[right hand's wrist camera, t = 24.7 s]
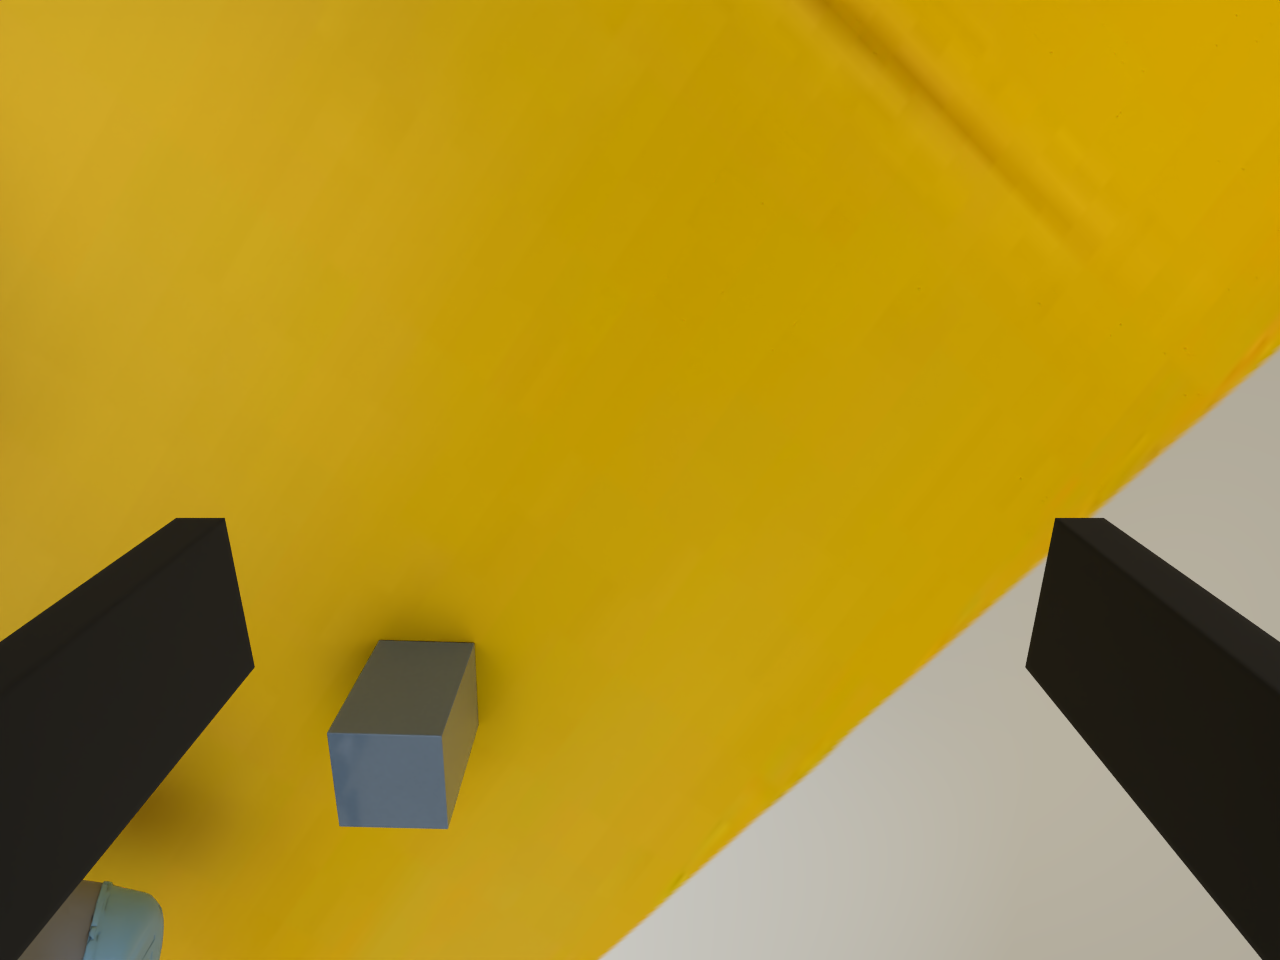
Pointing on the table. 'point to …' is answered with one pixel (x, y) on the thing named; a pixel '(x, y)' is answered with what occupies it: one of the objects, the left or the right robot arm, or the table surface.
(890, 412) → the table surface
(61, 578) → the table surface
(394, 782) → the block
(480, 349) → the table surface
